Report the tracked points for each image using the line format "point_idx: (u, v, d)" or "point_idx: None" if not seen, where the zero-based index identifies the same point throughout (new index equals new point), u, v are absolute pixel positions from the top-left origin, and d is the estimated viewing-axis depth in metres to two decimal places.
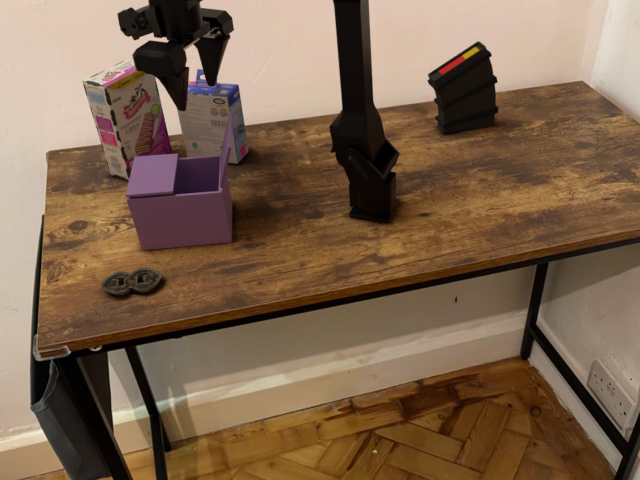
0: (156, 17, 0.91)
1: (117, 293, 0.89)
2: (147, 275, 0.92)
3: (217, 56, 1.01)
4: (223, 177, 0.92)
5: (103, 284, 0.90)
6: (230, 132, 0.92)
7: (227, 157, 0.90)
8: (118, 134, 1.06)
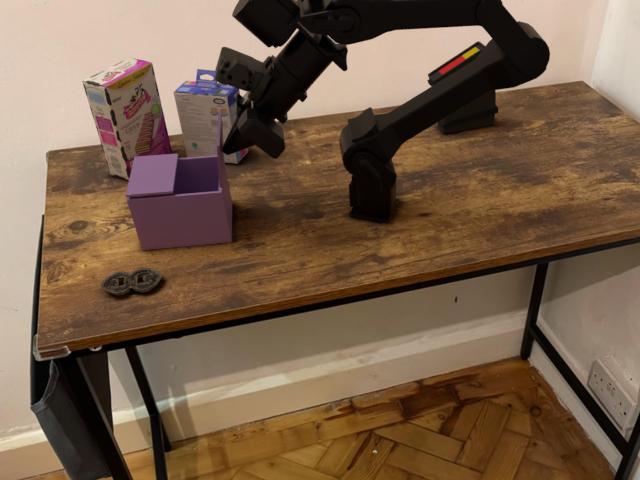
0: (266, 86, 0.87)
1: (117, 293, 0.89)
2: (147, 275, 0.92)
3: None
4: (220, 177, 0.91)
5: (103, 284, 0.90)
6: (219, 130, 0.91)
7: (218, 156, 0.89)
8: (118, 134, 1.06)
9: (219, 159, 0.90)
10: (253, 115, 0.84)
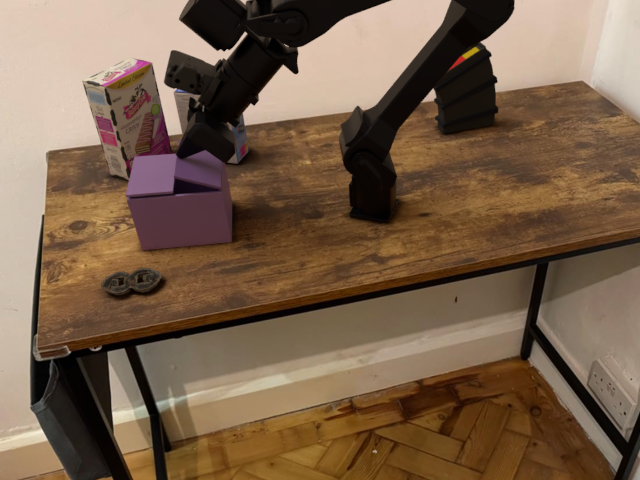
0: (215, 90, 0.86)
1: (117, 293, 0.89)
2: (147, 275, 0.92)
3: None
4: (208, 185, 0.92)
5: (103, 283, 0.90)
6: None
7: (185, 180, 0.91)
8: (118, 134, 1.06)
9: (188, 180, 0.91)
10: (201, 119, 0.83)
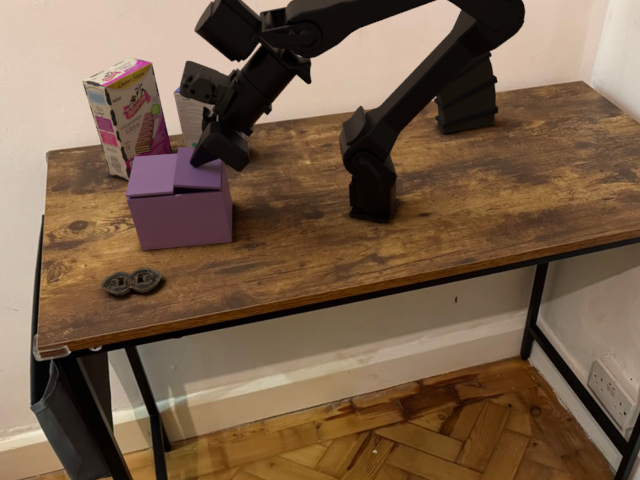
0: (230, 100, 0.87)
1: (117, 293, 0.89)
2: (147, 275, 0.92)
3: None
4: (208, 187, 0.92)
5: (103, 283, 0.90)
6: (175, 169, 0.94)
7: (184, 186, 0.92)
8: (118, 134, 1.06)
9: (188, 186, 0.92)
10: (216, 129, 0.84)
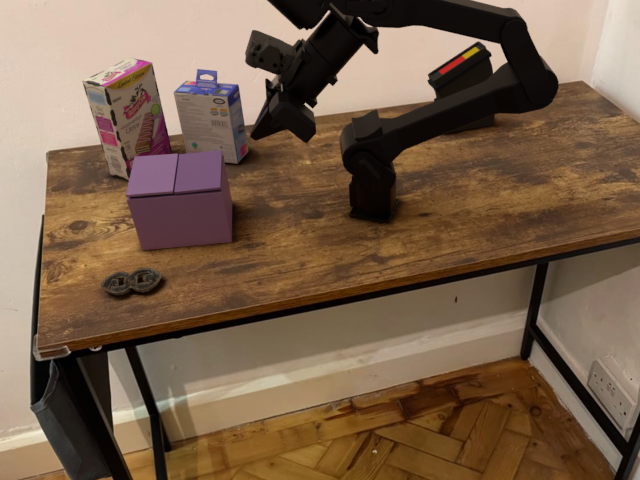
0: (296, 69, 0.86)
1: (117, 293, 0.89)
2: (147, 275, 0.92)
3: None
4: (208, 189, 0.93)
5: (103, 284, 0.90)
6: None
7: (185, 192, 0.92)
8: (118, 134, 1.06)
9: (188, 191, 0.92)
10: (285, 98, 0.83)
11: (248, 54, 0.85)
